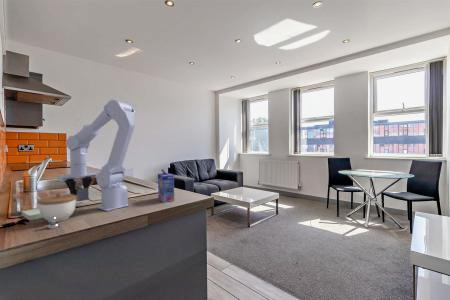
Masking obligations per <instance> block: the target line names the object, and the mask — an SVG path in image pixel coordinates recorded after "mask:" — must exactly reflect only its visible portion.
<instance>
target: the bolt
mask: <svg viewBox="0 0 450 300" xmlns="http://www.w3.org/2000/svg"><path fill="white" fill-rule="evenodd" d="M59 227H60V223H59V222H56V216H52V217H50V222H49V223H48V224H47V225H46V229H47V230H53V229H54V230H56V229H57V228H59Z"/></svg>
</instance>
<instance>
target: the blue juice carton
mask: <svg viewBox="0 0 450 300" xmlns="http://www.w3.org/2000/svg"><path fill="white" fill-rule="evenodd" d="M160 170H161V171H162V172H161V173H160V172H159V173H157V189H158V190H157V193H158V194H157V196H158V199H159V200H161V201H162V203H166V202H175V184H174V183H175V181H174V180H175V178H174V174H173V173H169V172H165V170H164V169H160Z"/></svg>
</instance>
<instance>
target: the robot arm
mask: <svg viewBox="0 0 450 300" xmlns="http://www.w3.org/2000/svg"><path fill="white" fill-rule="evenodd" d="M135 114H136V110H135V109H134V107H133V105H132V104H130V103H126V102H122V101H119V100H116V99H110V100H109V101H107V103H106V104H105V105H103V110H102V111H101V113H100V114H99V115H97V117H96V118H95V119H94V121H92V123H91V124H84V125H83V126H82V129H80V131H78V132H76V134H74V135H70V136H68V138H67V139H66V144H65V145H66V147H67V149H69V155H70V156H69V158H70V163H69V164H70V174H65V175H58V176H57V182H64V183H65V185H66V186H67V188H68V189H69V194H70V193H71V194H73V195H75V186H77V184H76V183H77V181H75V180H81V183H82V186H84V187H86V188H88V190H89V188H90V185H91V184H92V182H93V178H96V183H97V185H98V186H99V188H100V189H101V190H100V191H101V192H100V193H101V196H100V197H101V205H99V206H97V207H96V208H97V209H100V210H103V211H105V212H108V211H113V210H118V209H120V208H125V207H128V206H129V203H128V202H129V201H128V198H129V197H128V196H129V195H128V192H129V191H128V188H127V186H126V185H125V184H123V182H124V180H125V178H126V176H125V171H126V168H125V167H124V166H123V163H124V161H125V158H126V154H127V153H128V152H127V151H128V148H129V145H130V141H131V139H132V136H133V133H134V129H135ZM111 120H113V121H114V122H116V124H117V126H118V128H117V131H116V134H115V138H114V141H113V143H112V147H111V151H110V153H109V157H108V160H107V162H106V164H104V165H103V166H102V167H101V169H100V171H99V172H87V169H88V168H87V153H88V148H89V147H90V143H91V141H93V140H94V139H95V138H96V137H97V136H98V135H99V133H100V132H99V130H100V129H101V128H103V127H104V126H105V125H106V124H107V123H109V122H110V121H111Z"/></svg>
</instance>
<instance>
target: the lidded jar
mask: <svg viewBox="0 0 450 300" xmlns="http://www.w3.org/2000/svg"><path fill="white" fill-rule="evenodd" d="M37 203H38V208H39V212H40V214H41V216H42V218H43V219H44V220H45V221H47V222H48V223H50V217H52V216H56V223H59V222H63V221H66V220H69V219H70V217H71V216H72V215H73V214H74V212H75V209H76V207H77V201H76V195H73V194H70V193H68V194H67V193H65V194H62V193H60V192H56V193H55V194H53V195H48V196H43V197H41V198H39V199H38V200H37Z"/></svg>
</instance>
